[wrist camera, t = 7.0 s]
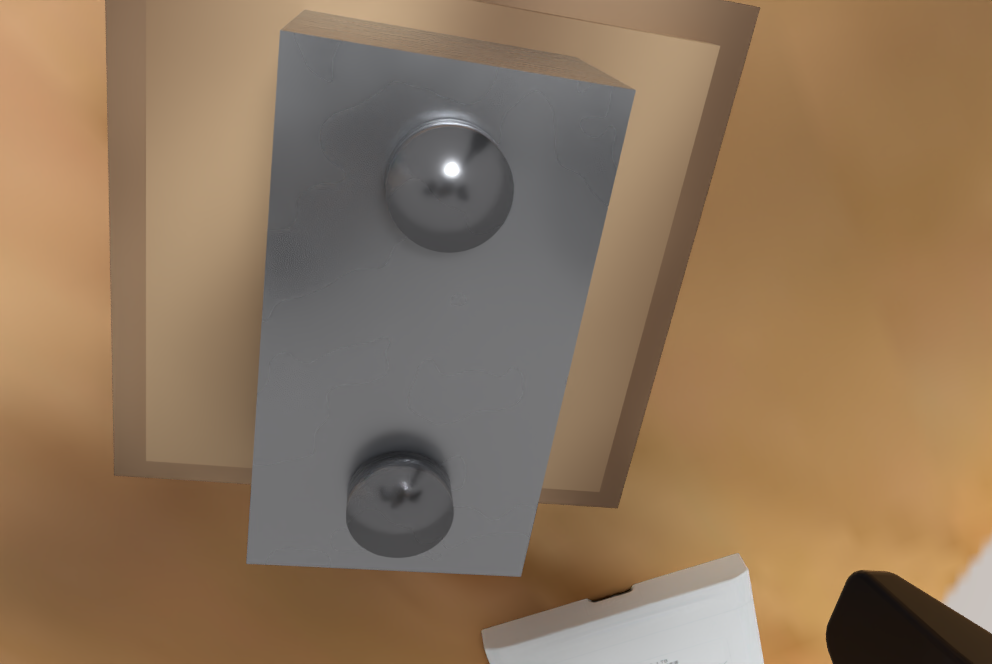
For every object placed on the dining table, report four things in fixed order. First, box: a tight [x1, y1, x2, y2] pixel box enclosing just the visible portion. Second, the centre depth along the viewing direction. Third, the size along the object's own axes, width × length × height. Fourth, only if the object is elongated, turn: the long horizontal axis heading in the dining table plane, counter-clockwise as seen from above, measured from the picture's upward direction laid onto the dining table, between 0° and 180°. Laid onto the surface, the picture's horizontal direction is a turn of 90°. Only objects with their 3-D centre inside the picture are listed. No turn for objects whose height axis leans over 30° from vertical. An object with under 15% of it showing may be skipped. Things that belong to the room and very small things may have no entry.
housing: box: [246, 10, 636, 577], centre depth 15 cm, size 9×5×5 cm, turn 170°
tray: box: [105, 0, 760, 508], centre depth 18 cm, size 12×12×2 cm
